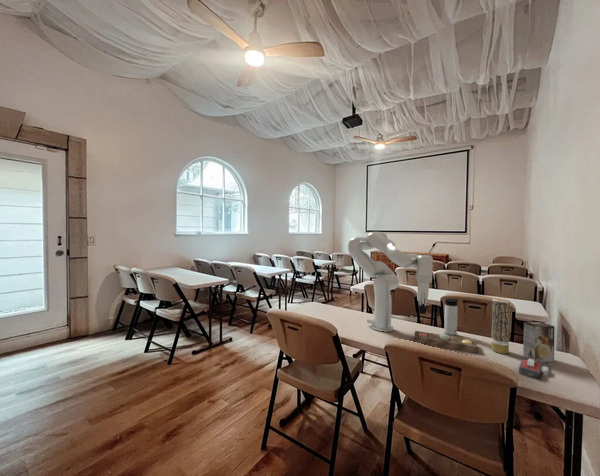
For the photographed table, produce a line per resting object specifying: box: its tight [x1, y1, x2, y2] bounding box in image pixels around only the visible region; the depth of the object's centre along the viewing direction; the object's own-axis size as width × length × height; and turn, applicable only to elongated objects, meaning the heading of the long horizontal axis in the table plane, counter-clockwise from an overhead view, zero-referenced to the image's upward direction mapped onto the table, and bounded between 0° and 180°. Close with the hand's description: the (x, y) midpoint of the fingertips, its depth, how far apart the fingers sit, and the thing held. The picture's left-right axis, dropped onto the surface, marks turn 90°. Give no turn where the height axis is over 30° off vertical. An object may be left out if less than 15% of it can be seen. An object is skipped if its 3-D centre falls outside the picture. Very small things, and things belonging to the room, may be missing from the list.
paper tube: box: [490, 297, 511, 355], centre depth 132 cm, size 7×7×25 cm
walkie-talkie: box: [518, 358, 550, 380], centre depth 114 cm, size 9×4×20 cm
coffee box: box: [522, 321, 556, 363], centre depth 125 cm, size 9×6×16 cm
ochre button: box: [462, 340, 472, 344], centre depth 136 cm, size 4×4×3 cm
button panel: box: [413, 330, 479, 354], centre depth 140 cm, size 28×10×3 cm, turn 64°
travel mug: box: [443, 298, 459, 337], centre depth 155 cm, size 6×7×20 cm
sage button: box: [439, 333, 449, 341], centre depth 140 cm, size 4×4×3 cm
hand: (422, 313), depth 145 cm, fingers closed
